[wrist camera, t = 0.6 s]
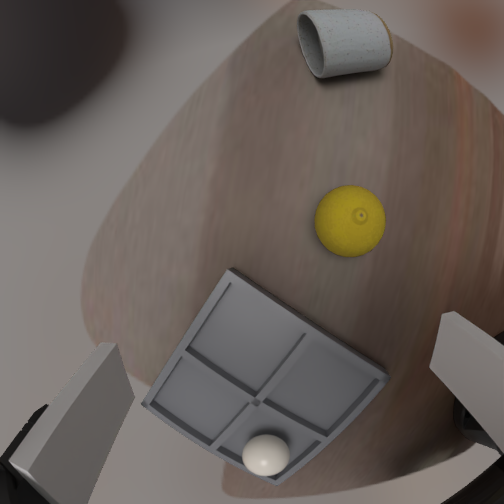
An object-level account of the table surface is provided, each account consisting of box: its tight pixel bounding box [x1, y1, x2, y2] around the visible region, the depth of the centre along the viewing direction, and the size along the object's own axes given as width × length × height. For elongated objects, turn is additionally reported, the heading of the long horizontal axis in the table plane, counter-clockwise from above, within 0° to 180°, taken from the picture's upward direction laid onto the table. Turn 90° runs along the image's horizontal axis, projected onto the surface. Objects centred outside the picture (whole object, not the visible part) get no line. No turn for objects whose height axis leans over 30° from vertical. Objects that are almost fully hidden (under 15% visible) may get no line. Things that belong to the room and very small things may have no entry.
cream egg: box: [242, 434, 290, 476], centre depth 23 cm, size 5×5×5 cm
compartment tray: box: [141, 268, 391, 486], centre depth 25 cm, size 18×18×2 cm
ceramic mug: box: [297, 9, 393, 78], centre depth 21 cm, size 11×8×8 cm
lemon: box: [315, 185, 386, 257], centre depth 21 cm, size 6×6×8 cm
